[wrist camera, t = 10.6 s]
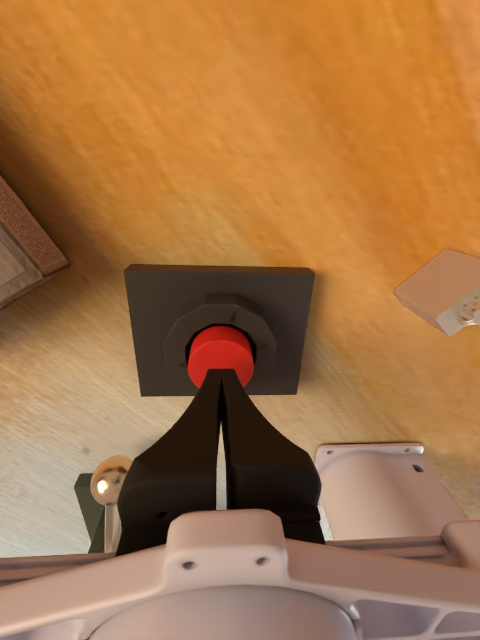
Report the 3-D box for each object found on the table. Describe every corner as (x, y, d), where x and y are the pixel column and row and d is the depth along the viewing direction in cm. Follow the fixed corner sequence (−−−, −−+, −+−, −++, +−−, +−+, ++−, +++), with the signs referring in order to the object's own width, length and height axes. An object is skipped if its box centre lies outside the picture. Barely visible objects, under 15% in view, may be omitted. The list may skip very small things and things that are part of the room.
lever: (101, 448, 22) (82, 469, 19) (143, 447, 23) (131, 467, 20) (99, 613, 22) (79, 661, 19) (142, 610, 22) (129, 658, 19)
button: (252, 325, 17) (256, 340, 15) (249, 376, 18) (252, 394, 17) (189, 325, 16) (186, 340, 15) (191, 376, 18) (188, 395, 16)
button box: (308, 267, 18) (325, 283, 16) (292, 382, 22) (303, 412, 19) (130, 263, 18) (113, 280, 15) (145, 384, 21) (134, 415, 19)
